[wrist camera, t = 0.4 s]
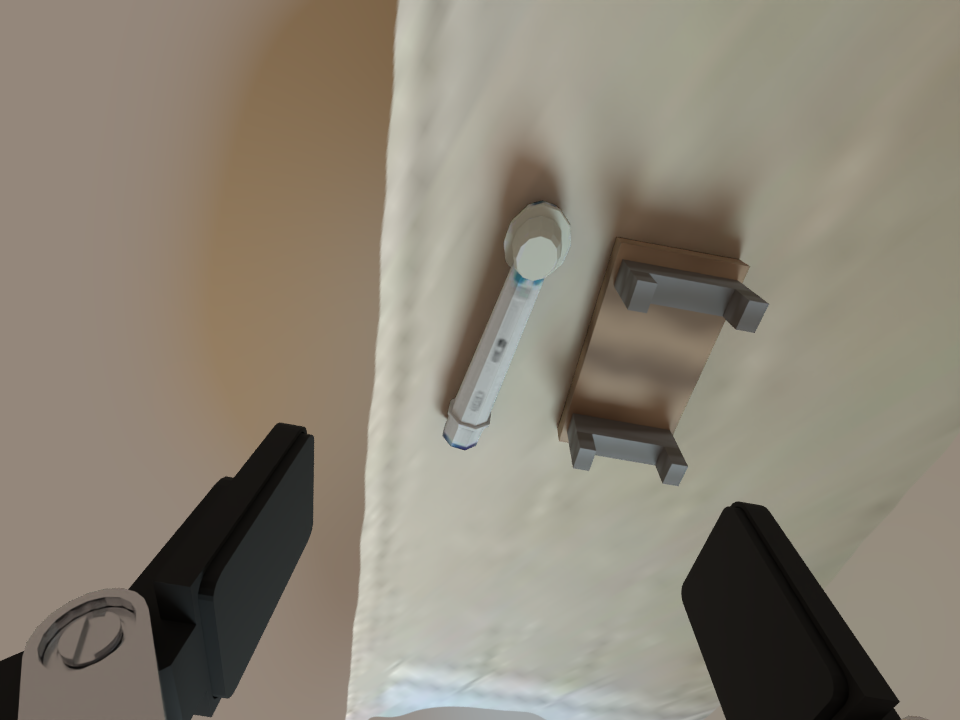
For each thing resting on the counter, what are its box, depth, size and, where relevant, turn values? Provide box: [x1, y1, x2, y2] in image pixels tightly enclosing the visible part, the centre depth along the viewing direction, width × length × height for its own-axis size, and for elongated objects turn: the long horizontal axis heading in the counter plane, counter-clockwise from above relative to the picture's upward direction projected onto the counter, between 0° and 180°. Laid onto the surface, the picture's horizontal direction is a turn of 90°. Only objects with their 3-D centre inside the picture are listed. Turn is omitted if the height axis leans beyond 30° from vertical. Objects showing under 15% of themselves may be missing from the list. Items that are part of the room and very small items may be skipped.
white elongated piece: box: [442, 201, 571, 450], centre depth 43 cm, size 5×7×25 cm
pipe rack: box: [557, 237, 769, 486], centre depth 42 cm, size 21×11×8 cm, turn 171°
